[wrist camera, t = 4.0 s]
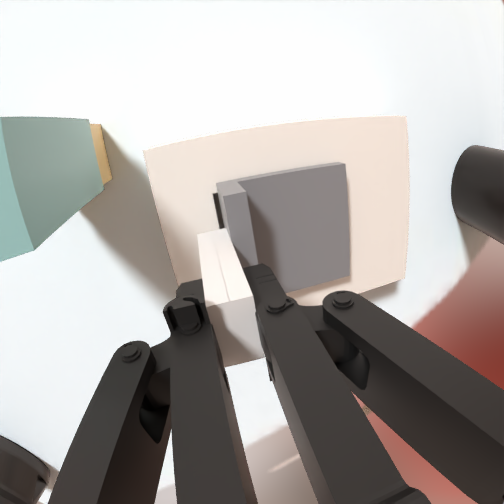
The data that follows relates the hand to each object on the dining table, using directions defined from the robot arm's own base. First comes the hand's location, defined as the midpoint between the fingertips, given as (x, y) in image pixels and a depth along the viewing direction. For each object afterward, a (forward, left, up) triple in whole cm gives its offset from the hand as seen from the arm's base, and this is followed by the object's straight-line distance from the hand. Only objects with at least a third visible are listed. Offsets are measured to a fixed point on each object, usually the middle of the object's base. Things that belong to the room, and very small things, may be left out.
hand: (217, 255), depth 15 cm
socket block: (+5, -2, -6) cm, 8 cm away
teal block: (-4, +9, -6) cm, 11 cm away
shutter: (+4, -2, -1) cm, 4 cm away
